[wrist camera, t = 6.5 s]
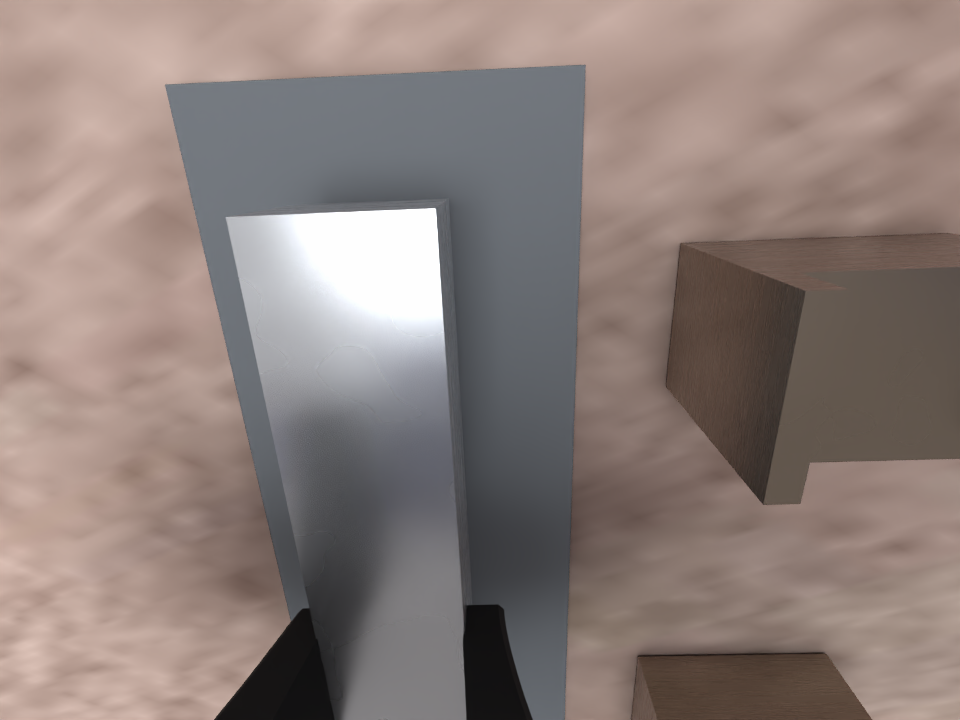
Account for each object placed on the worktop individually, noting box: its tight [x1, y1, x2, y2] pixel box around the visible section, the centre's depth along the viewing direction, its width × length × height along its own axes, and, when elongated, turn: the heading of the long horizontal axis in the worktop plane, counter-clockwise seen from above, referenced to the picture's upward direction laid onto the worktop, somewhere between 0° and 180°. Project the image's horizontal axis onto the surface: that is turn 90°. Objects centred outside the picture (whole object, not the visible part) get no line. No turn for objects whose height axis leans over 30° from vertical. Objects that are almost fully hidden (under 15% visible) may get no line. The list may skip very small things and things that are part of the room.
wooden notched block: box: [666, 233, 960, 505], centre depth 8 cm, size 5×3×4 cm, turn 92°
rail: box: [226, 199, 473, 720], centre depth 10 cm, size 2×16×2 cm, turn 2°
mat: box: [165, 65, 585, 720], centre depth 12 cm, size 7×20×1 cm, turn 2°
